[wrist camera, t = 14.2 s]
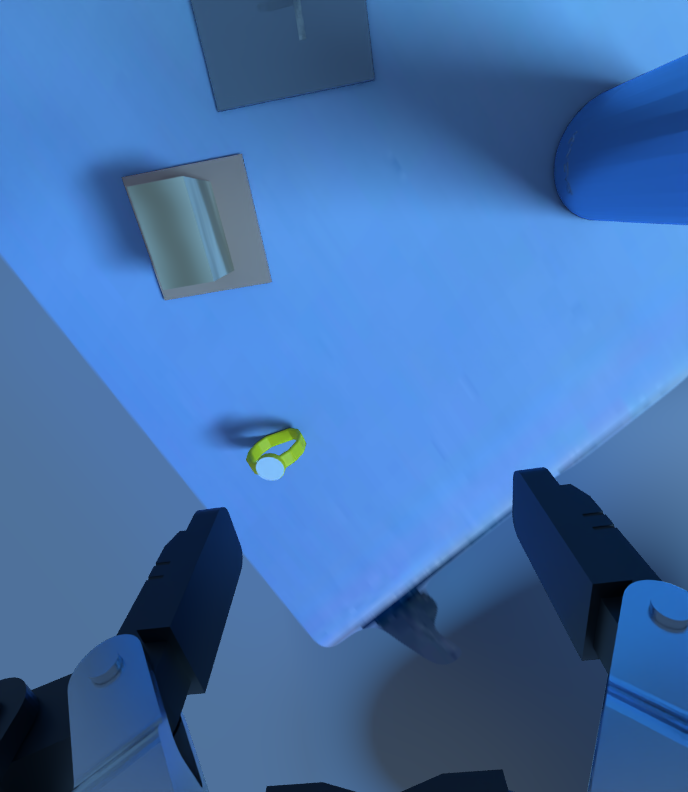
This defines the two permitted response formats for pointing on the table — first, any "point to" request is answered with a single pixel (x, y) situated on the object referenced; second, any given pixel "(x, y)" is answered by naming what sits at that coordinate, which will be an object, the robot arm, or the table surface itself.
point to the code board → (282, 47)
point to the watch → (271, 463)
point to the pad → (234, 216)
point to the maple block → (182, 230)
